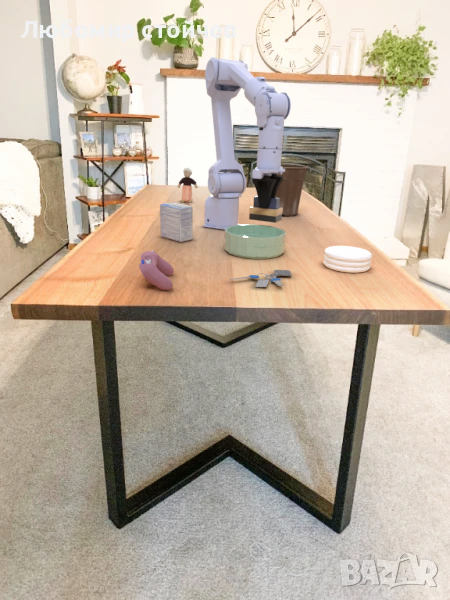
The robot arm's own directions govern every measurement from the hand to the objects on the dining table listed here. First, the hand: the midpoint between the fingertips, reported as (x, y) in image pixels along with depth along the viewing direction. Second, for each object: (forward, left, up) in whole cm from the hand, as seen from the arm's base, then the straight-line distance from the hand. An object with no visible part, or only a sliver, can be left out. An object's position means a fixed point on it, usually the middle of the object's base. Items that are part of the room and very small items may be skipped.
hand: (266, 206), depth 109 cm
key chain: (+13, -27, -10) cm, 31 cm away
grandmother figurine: (-50, +44, -10) cm, 68 cm away
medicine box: (-21, -8, -10) cm, 25 cm away
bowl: (+1, -8, -10) cm, 12 cm away
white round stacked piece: (+23, -8, -10) cm, 26 cm away
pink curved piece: (-5, -39, -10) cm, 40 cm away
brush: (0, 0, -3) cm, 3 cm away
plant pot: (-12, +44, -10) cm, 47 cm away
